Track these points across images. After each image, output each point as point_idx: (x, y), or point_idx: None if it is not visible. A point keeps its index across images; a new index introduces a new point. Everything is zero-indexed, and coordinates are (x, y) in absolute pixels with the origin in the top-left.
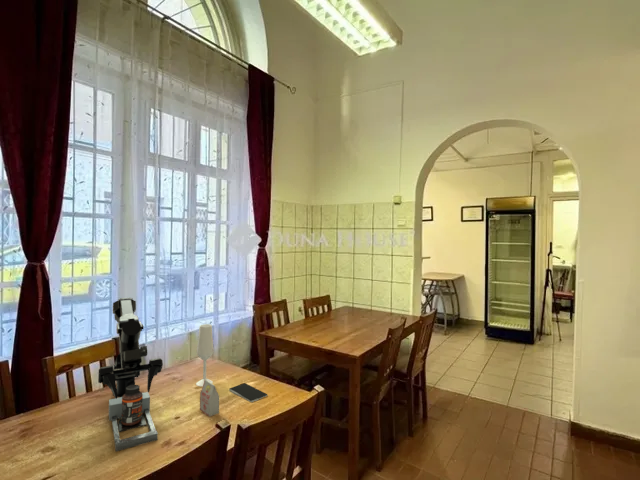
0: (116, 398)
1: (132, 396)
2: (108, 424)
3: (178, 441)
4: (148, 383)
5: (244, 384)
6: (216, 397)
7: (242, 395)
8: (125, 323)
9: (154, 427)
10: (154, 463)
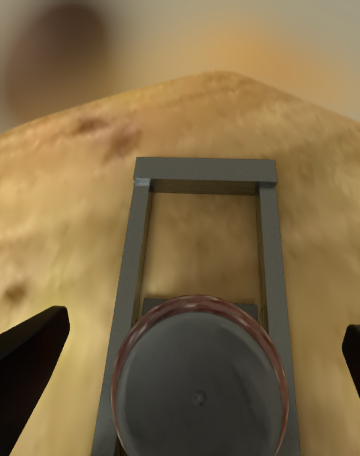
0: (347, 341)
1: (207, 308)
2: (307, 434)
3: (92, 136)
4: (11, 345)
5: None
6: None
7: None
8: None
9: (130, 216)
10: (178, 82)
